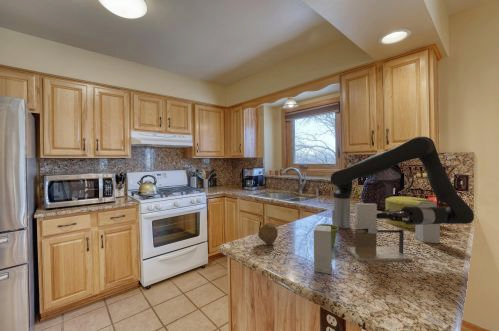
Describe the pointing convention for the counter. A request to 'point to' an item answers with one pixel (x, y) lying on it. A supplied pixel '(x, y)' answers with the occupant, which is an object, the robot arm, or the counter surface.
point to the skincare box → (322, 249)
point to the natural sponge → (268, 233)
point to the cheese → (401, 202)
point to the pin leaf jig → (369, 251)
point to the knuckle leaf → (366, 217)
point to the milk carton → (428, 228)
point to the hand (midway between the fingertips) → (376, 215)
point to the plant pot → (332, 233)
